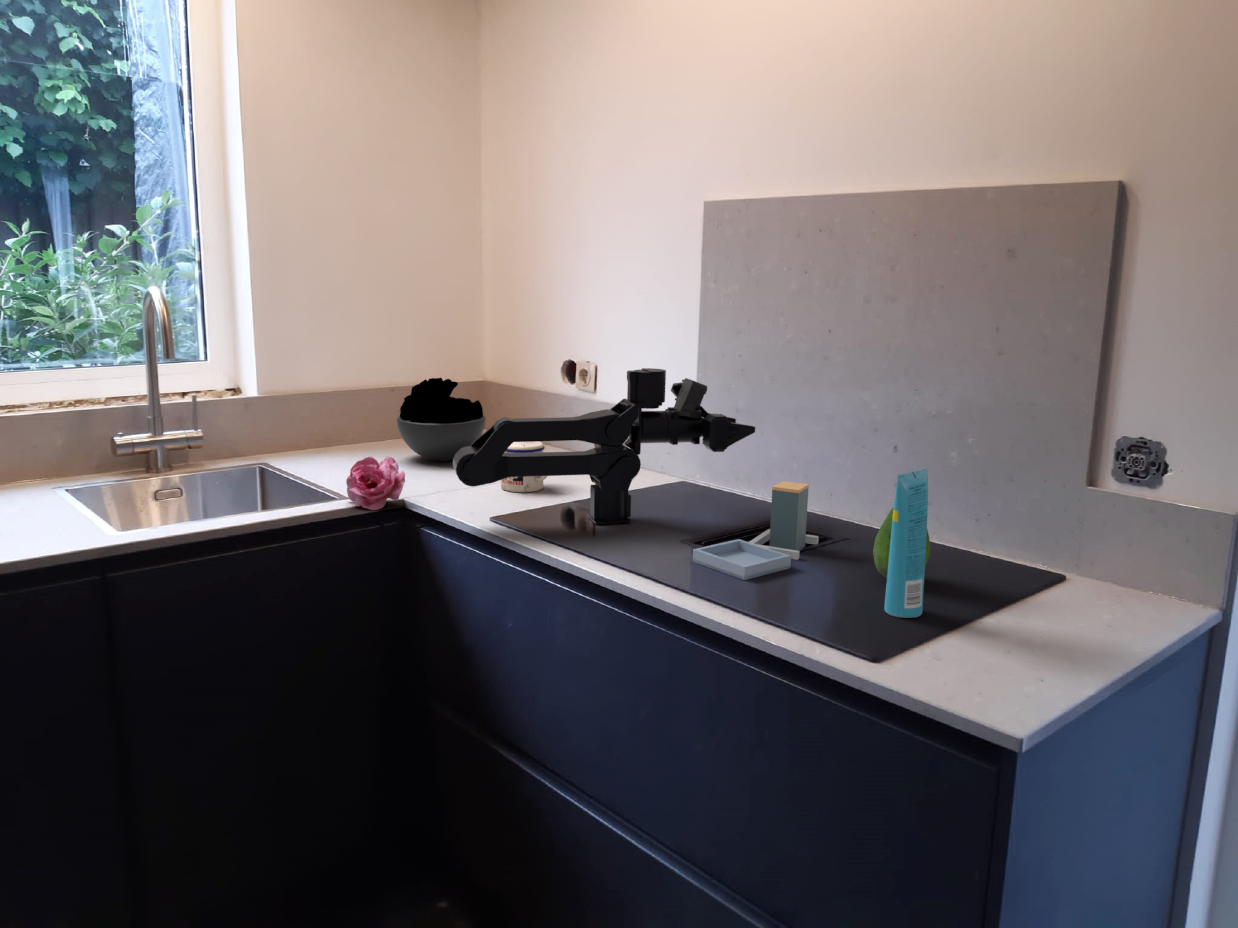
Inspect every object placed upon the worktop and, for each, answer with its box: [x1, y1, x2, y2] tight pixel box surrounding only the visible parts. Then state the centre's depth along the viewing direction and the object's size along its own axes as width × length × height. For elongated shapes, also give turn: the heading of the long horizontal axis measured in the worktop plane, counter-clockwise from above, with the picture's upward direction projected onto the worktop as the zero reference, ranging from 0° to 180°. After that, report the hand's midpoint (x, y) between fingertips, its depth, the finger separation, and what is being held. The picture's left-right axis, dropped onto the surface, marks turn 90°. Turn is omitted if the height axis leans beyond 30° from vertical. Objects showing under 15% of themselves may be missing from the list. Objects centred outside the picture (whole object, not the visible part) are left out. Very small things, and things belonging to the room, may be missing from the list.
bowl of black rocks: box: [396, 377, 486, 462], centre depth 220 cm, size 20×20×19 cm
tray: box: [692, 538, 792, 581], centre depth 146 cm, size 11×10×2 cm
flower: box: [346, 456, 406, 511], centre depth 179 cm, size 11×10×10 cm
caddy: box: [768, 480, 810, 552], centre depth 155 cm, size 4×5×10 cm
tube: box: [883, 467, 929, 619], centre depth 125 cm, size 7×5×19 cm, turn 140°
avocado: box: [872, 506, 931, 579], centre depth 139 cm, size 8×8×12 cm
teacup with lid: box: [500, 441, 548, 493], centre depth 193 cm, size 12×9×12 cm
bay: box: [749, 528, 819, 561], centre depth 156 cm, size 9×11×1 cm
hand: (744, 425), depth 175 cm, fingers open, 9 cm apart
